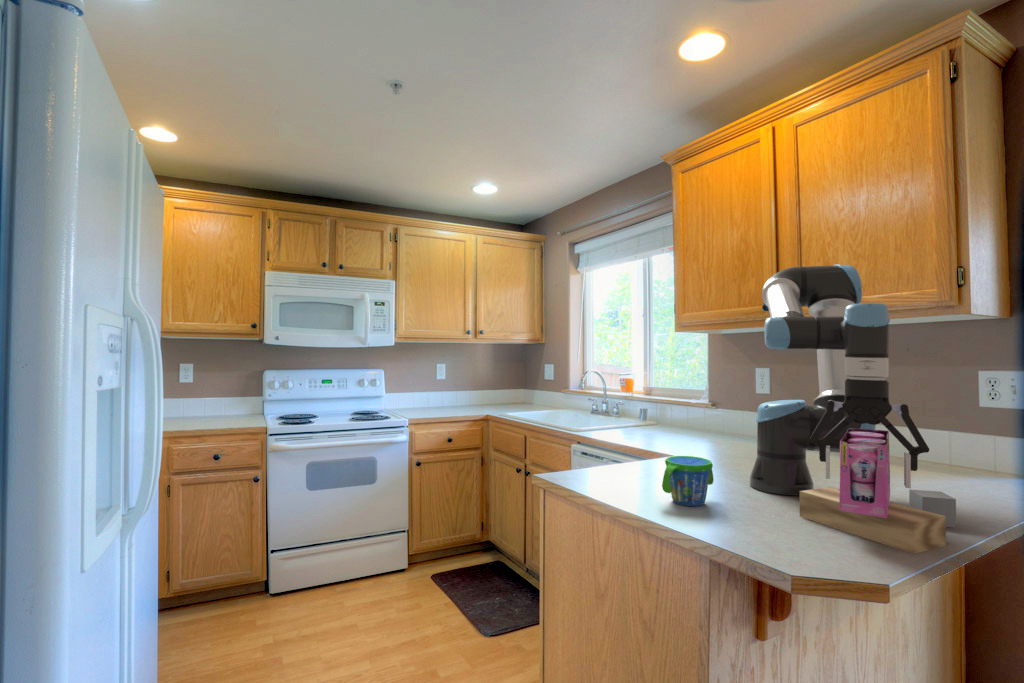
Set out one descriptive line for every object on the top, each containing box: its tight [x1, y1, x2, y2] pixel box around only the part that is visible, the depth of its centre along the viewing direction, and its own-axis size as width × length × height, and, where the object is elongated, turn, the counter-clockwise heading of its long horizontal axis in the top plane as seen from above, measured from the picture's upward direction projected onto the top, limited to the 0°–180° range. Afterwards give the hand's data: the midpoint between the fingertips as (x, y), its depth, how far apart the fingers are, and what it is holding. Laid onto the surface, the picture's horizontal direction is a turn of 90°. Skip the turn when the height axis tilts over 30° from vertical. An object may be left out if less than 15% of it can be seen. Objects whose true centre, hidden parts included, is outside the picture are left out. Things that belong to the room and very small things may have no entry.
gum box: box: [839, 428, 891, 518], centre depth 109 cm, size 24×8×14 cm, turn 144°
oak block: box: [799, 486, 947, 554], centre depth 109 cm, size 10×23×6 cm, turn 24°
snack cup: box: [661, 455, 714, 507], centre depth 127 cm, size 16×10×10 cm
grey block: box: [908, 488, 957, 528], centre depth 114 cm, size 6×6×6 cm
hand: (866, 482), depth 109 cm, fingers open, 13 cm apart
